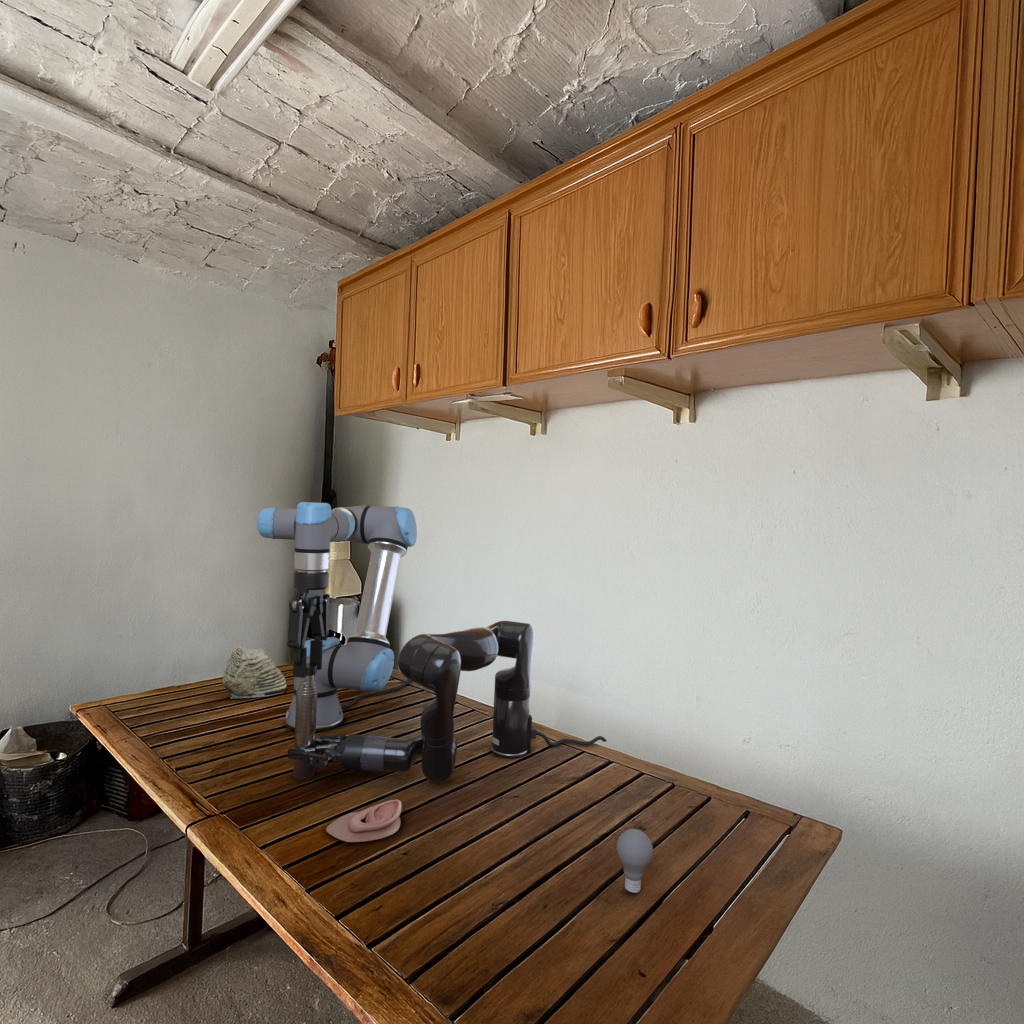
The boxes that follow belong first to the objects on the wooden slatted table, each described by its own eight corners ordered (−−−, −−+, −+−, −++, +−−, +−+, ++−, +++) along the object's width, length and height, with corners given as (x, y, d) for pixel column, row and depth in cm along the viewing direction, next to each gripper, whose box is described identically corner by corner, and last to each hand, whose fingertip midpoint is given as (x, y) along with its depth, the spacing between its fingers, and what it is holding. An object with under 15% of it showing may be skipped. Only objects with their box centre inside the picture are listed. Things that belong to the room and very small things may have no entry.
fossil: (218, 695, 195) (220, 647, 195) (278, 685, 208) (279, 640, 207) (228, 703, 189) (230, 653, 188) (289, 692, 201) (290, 645, 201)
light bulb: (610, 879, 108) (613, 822, 108) (644, 879, 109) (647, 822, 109) (619, 902, 102) (622, 840, 102) (655, 901, 103) (658, 840, 103)
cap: (307, 670, 146) (307, 662, 146) (320, 673, 144) (321, 664, 144) (294, 674, 142) (294, 665, 142) (307, 677, 140) (308, 668, 140)
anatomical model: (318, 816, 117) (346, 789, 129) (317, 837, 118) (346, 808, 129) (385, 827, 115) (408, 798, 126) (384, 848, 115) (407, 818, 126)
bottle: (289, 779, 141) (294, 670, 141) (297, 771, 146) (301, 664, 145) (309, 780, 141) (313, 671, 140) (317, 772, 145) (321, 666, 145)
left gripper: (318, 565, 153) (314, 661, 153) (271, 574, 134) (267, 682, 134) (346, 567, 151) (343, 664, 151) (303, 576, 132) (299, 686, 133)
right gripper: (376, 725, 150) (305, 721, 150) (358, 749, 135) (280, 744, 136) (374, 756, 150) (303, 752, 150) (357, 783, 135) (279, 778, 136)
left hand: (307, 672), depth 143 cm, fingers open, 6 cm apart
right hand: (293, 748), depth 143 cm, fingers closed on bottle, 4 cm apart
